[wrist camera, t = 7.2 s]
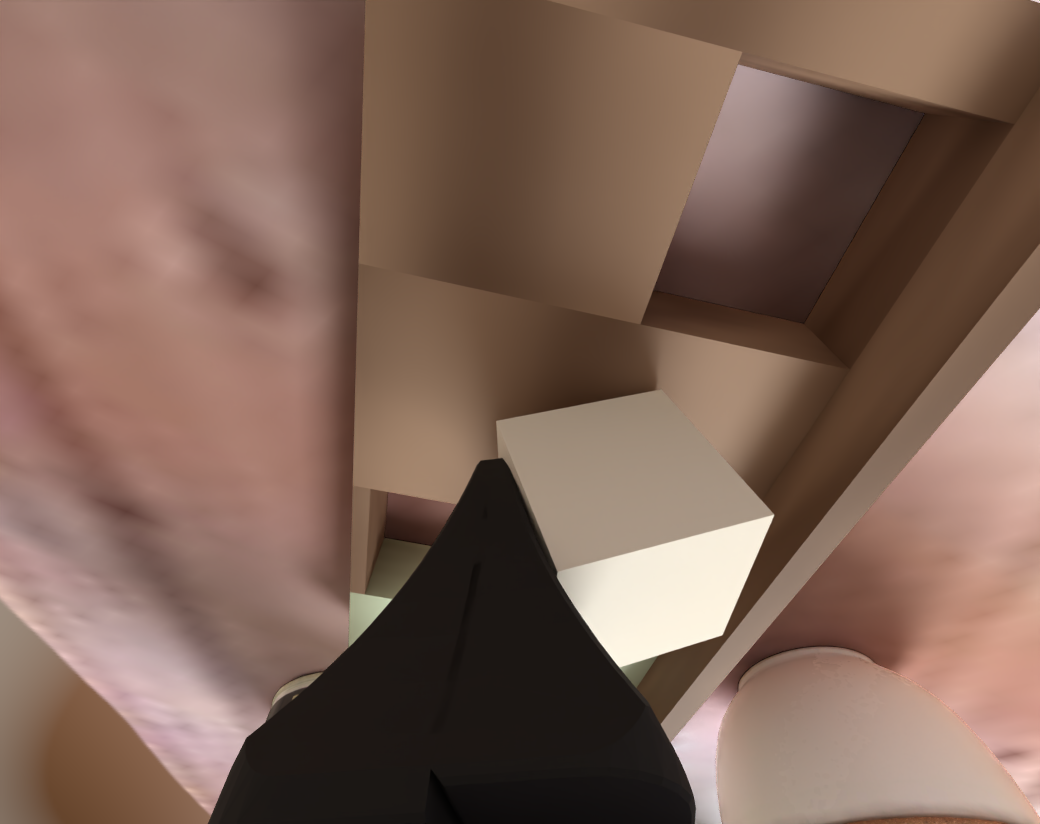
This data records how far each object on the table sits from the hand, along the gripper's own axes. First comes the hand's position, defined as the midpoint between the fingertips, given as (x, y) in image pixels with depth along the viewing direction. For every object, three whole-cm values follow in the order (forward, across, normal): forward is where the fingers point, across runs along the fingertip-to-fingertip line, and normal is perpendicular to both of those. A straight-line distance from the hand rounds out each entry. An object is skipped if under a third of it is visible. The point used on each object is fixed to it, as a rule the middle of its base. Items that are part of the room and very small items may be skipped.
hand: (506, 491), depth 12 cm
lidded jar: (+4, -11, +18) cm, 21 cm away
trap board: (+4, -1, +2) cm, 5 cm away
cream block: (+1, -2, 0) cm, 2 cm away
